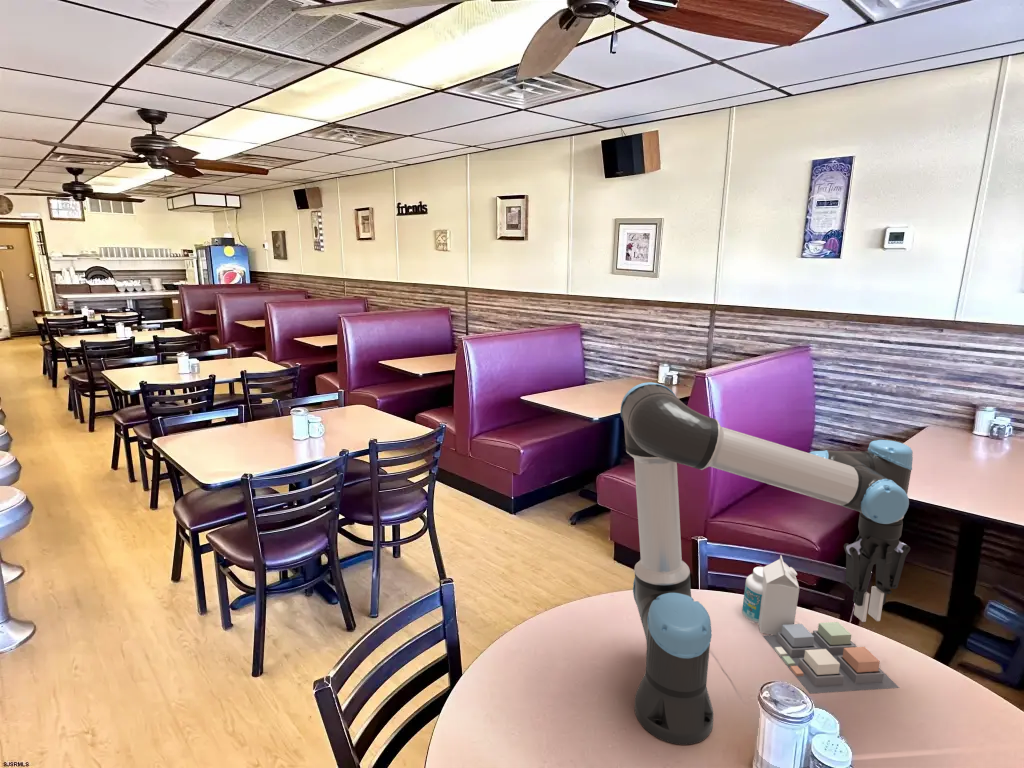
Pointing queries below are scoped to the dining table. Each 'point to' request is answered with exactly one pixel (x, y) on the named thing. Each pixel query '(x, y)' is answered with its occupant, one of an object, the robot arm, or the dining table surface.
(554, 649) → the dining table surface
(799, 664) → the keypad
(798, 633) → the slate key
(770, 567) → the milk carton
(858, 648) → the terracotta key
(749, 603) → the pill bottle
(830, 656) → the cream key
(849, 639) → the sage key
